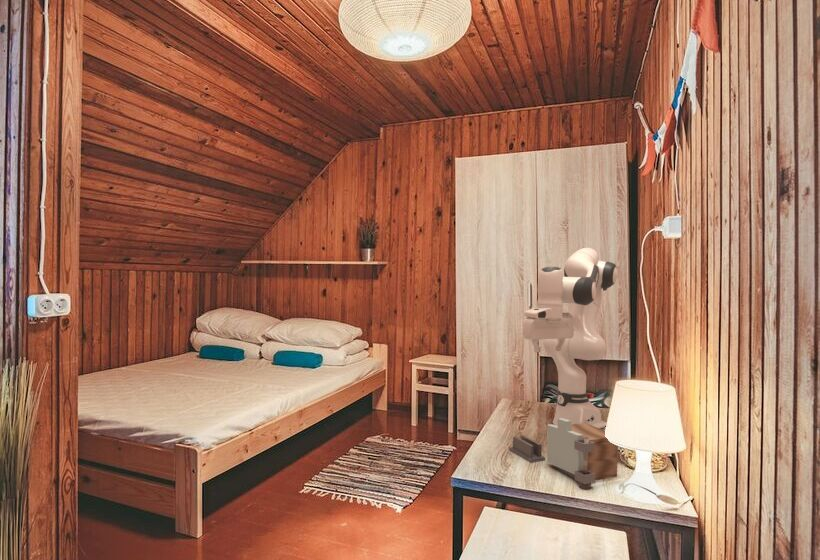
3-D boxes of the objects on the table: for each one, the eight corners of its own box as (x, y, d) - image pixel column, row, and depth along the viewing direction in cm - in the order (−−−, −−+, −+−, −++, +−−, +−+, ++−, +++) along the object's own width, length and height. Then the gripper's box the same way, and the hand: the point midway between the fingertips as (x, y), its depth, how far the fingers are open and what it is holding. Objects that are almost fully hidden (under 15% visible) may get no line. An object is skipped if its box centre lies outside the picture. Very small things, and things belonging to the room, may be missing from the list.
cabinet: (583, 461, 165) (585, 416, 164) (625, 482, 149) (627, 433, 148) (545, 467, 158) (547, 421, 158) (584, 490, 142) (586, 438, 142)
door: (554, 464, 160) (554, 414, 160) (595, 482, 144) (594, 427, 144) (544, 465, 158) (544, 415, 159) (584, 484, 142) (584, 428, 143)
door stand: (522, 449, 174) (523, 433, 174) (545, 461, 163) (545, 445, 163) (508, 451, 171) (509, 435, 171) (530, 464, 160) (531, 447, 160)
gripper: (566, 311, 180) (564, 349, 180) (520, 311, 172) (519, 351, 172) (578, 313, 174) (577, 351, 175) (531, 313, 166) (530, 354, 166)
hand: (548, 351), depth 173 cm, fingers open, 8 cm apart
